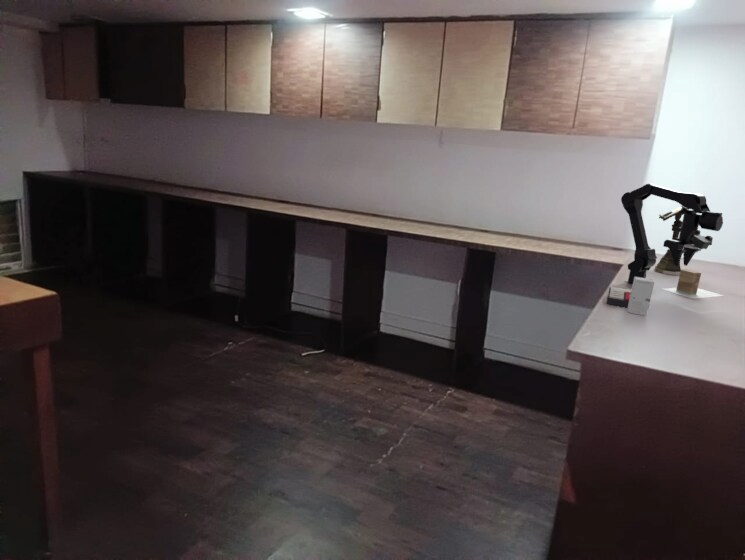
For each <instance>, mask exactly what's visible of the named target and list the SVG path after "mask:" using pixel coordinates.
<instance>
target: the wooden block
mask: <svg viewBox="0 0 745 560" xmlns="http://www.w3.org/2000/svg"><path fill="white" fill-rule="evenodd" d="M701 275H702V272H700V271H695V270H693V269H692V270H691V269H688V268H683V269H682V268H681V272H680V275H678V281H677V282H678V283H677V287H676V288H677V290H676V291H678V292H681V293H684V294H688V295H696V293H697V289H698V288H699V284H700V281H701Z"/></svg>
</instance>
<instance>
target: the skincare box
mask: <svg viewBox="0 0 745 560" xmlns="http://www.w3.org/2000/svg"><path fill="white" fill-rule="evenodd" d="M654 285H655V281H654V280H653V279H652V278H647V277H646V278H640V277H634V281H633V284H631V289H630V290H631V294H630V299H629V303H628V308H626V310H627V313H628V312H629V314H635V315H640V316H647V315H648V311H649V307H650V302H651V297H652V294H653V290H654Z"/></svg>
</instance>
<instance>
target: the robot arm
mask: <svg viewBox="0 0 745 560" xmlns="http://www.w3.org/2000/svg"><path fill="white" fill-rule="evenodd" d="M650 196H656V197H660V198H663V199H665V200H666V199H667V200H669V201H670V200H671V201H673V202H675V203H678V204H680V206H684V208H683V209H682V210H680V211H679V213H683V218H682V220H681V221H682V226H681V228H678V230H679V231H680V232H679V236H678V238H676V240H672V239H666V240H664V241H663V245H662V246H663V247H665V248H668V249H670V251H671V254H672V257H673V260H674V264H675V266H678V265H679V262H680V263H681V259H682V257H683V266H684V267H686V266H689V265H688V264H690V262H691V259H693V257H694V255H695V254H696V253H698V252H701V251H702V250H707V249H708V247H709V246H712V245H713V239H714V238H713V237H712V236H711V235H705V236H704V235H702V234H701V229H704V230H708V231H714V232H719V231H720V230H721V228H722V227H723V224H724V220H723V213H722V212H715V211H711V210H710V207H709V206H708V204H707V197H706V196H705V195H704V194H702V193H693V192H684V191H683V192H682V191H679V190H675V189H672V188H668V187H664V186H660V185H657V184H654V183H646V184H643V185H642V186H641V187H638V188H636V189H634V190H631V191H629V192H625V193H624V194H623V195H622V196H621V198H620V201H621V204H622V207H623V208H624V210H625V212H626V213H627V214H628V217H629V222H630V227H631V231H632V235H633V236H632V237H633V240H634V244H635V250H634V260H633V261H631V262H630V263H628V264H627V270H628V271H629V275H628V280H627V281H625V280H624V283H627V284H631V285H633V281H634V277H640V278H646V279H647V272H648V271H650V269H651V268H653V267H654V266H655V264H656V262H657V259H658V257H657V254H656V249H655V248H651V247H650V245H649V242H648V239H647V238H648V237H647V234H646V229H645V224H644V220H643V219H644V218H643V215H642V210H643V206H644V204H643V202H644V201H645V200H646V199H648V198H650ZM688 208H689V209H688ZM699 227H700V229H699ZM682 255H683V256H682Z"/></svg>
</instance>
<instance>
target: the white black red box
mask: <svg viewBox="0 0 745 560" xmlns="http://www.w3.org/2000/svg"><path fill="white" fill-rule="evenodd" d="M631 290H632V289H627V288H622V287H615V286H609V288H608V294H607V299H606V305H607V306H613V307H617V306H619V307H618V308H622V307H625V308H624V309H627V308H628V303H629V299H630V294H631Z"/></svg>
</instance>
